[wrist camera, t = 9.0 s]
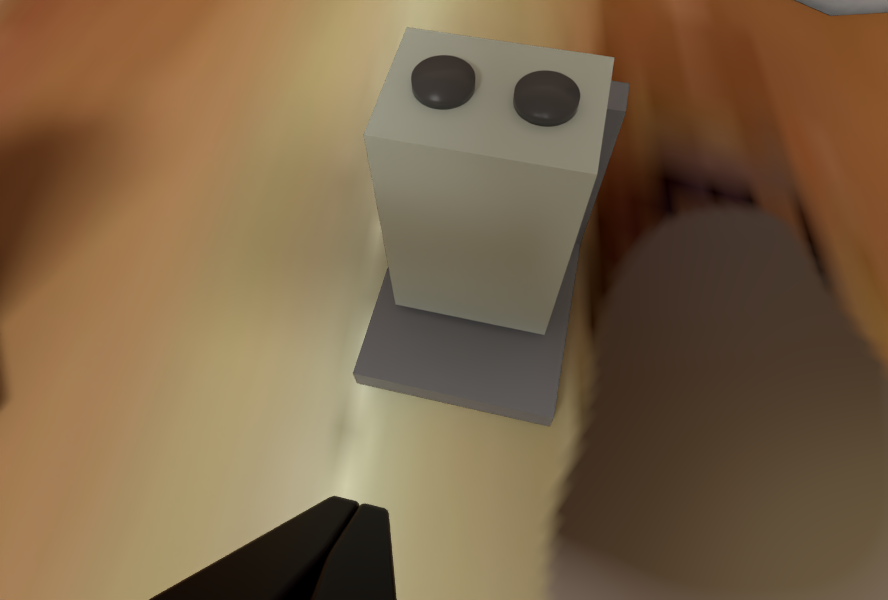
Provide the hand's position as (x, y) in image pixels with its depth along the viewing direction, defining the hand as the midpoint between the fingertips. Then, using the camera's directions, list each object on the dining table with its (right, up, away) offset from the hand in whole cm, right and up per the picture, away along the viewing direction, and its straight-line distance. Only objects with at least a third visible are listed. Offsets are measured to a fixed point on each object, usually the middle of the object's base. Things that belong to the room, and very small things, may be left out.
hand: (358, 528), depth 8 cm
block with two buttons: (+3, +4, +14) cm, 15 cm away
